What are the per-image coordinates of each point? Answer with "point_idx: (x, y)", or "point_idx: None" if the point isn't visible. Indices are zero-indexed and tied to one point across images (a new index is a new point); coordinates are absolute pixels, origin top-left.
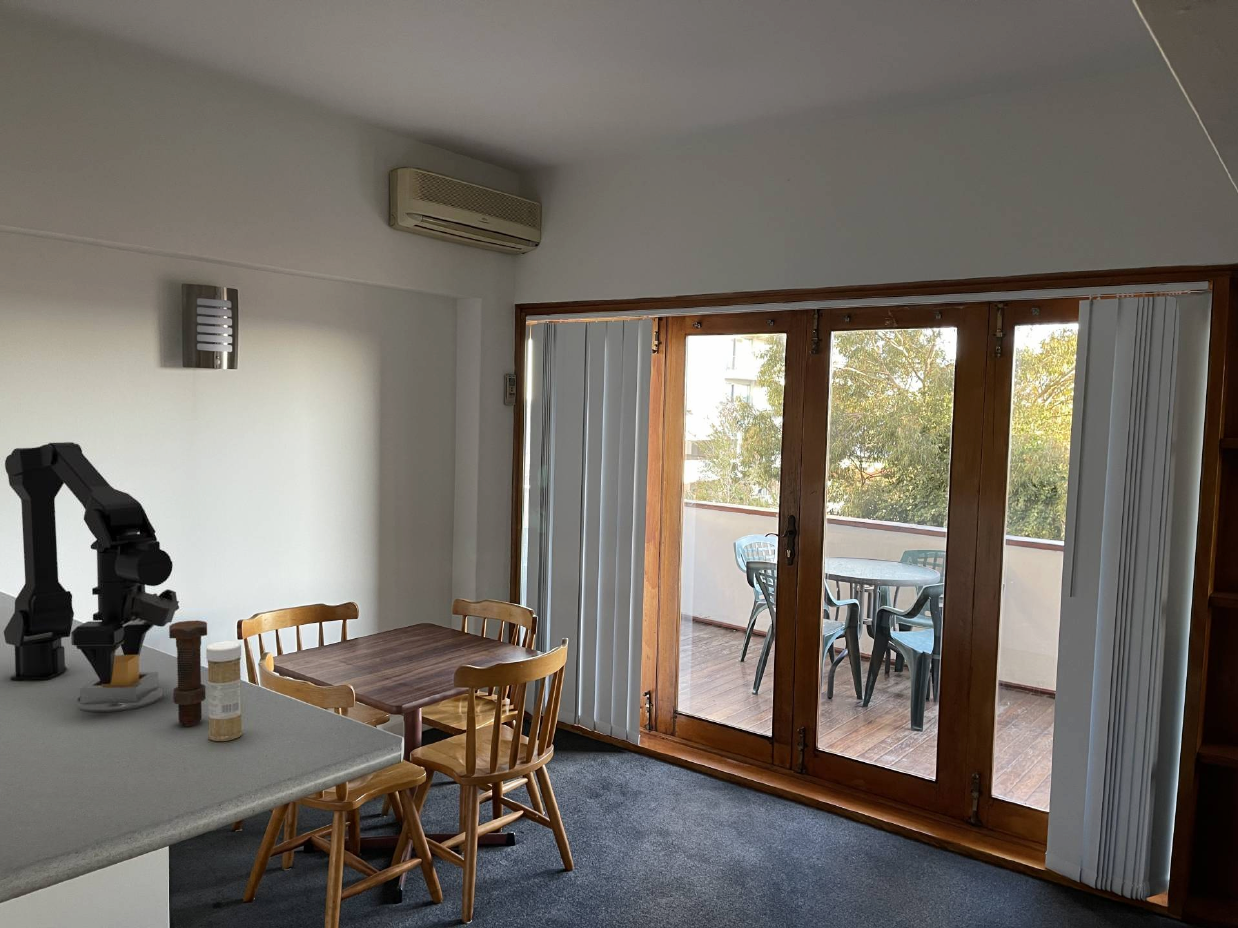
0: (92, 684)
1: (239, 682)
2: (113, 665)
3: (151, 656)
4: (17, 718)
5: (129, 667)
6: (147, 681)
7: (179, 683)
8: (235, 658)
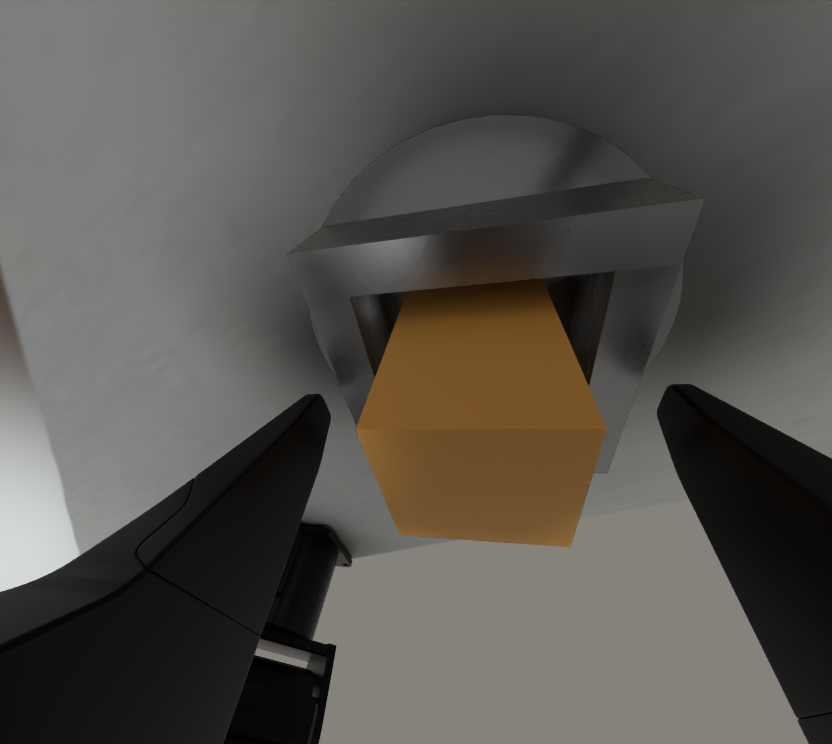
0: None
1: None
2: (791, 480)
3: (69, 429)
4: (637, 499)
5: (555, 380)
6: (472, 224)
7: None
8: None
